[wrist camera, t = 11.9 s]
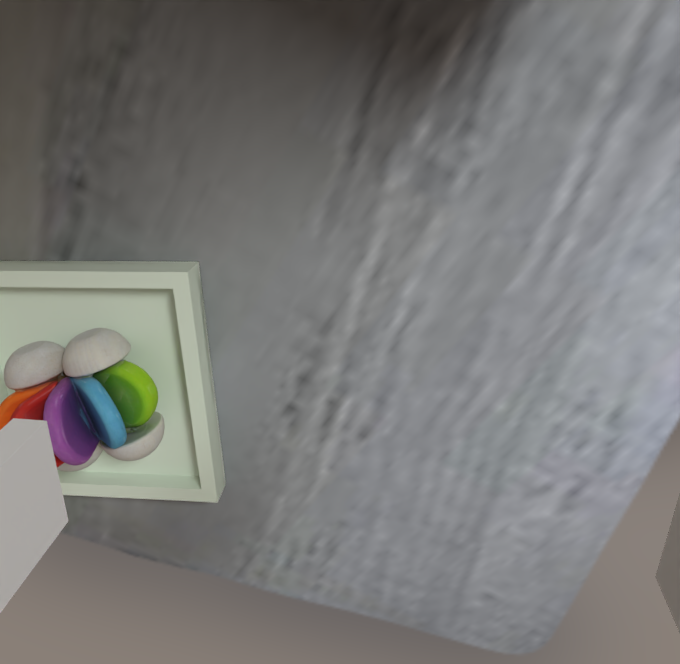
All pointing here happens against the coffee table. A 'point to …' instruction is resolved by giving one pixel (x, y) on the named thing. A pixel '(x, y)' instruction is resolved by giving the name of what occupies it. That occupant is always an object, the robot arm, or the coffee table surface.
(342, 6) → the coffee table surface
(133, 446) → the rainbow lobed toy
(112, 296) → the tray
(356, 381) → the coffee table surface
